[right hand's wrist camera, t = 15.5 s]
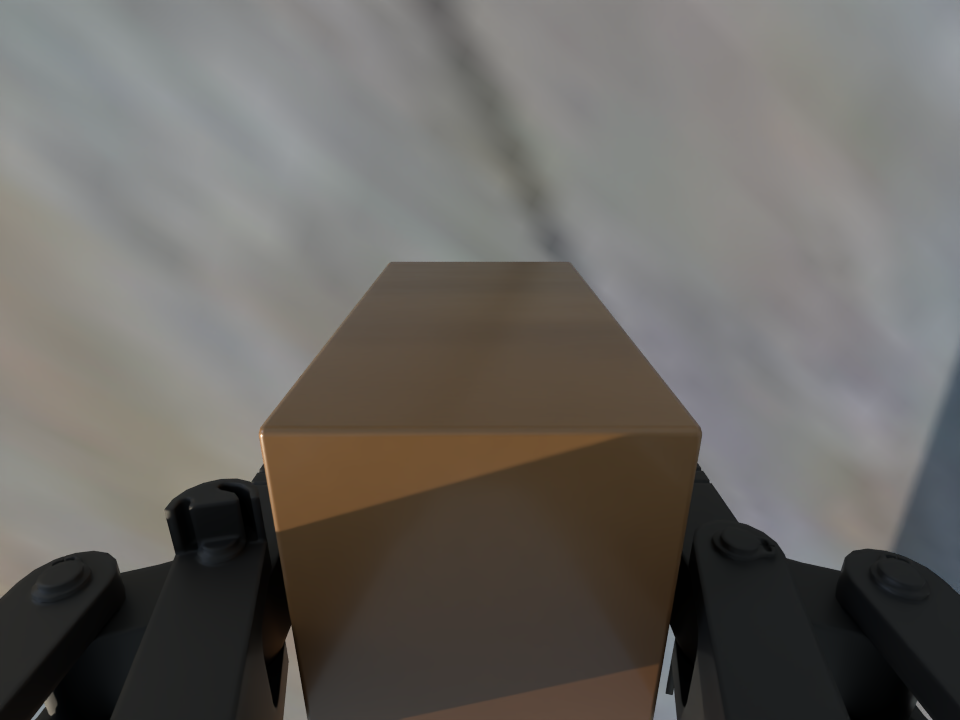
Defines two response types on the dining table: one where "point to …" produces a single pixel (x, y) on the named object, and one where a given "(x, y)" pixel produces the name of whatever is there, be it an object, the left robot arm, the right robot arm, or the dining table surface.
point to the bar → (480, 502)
